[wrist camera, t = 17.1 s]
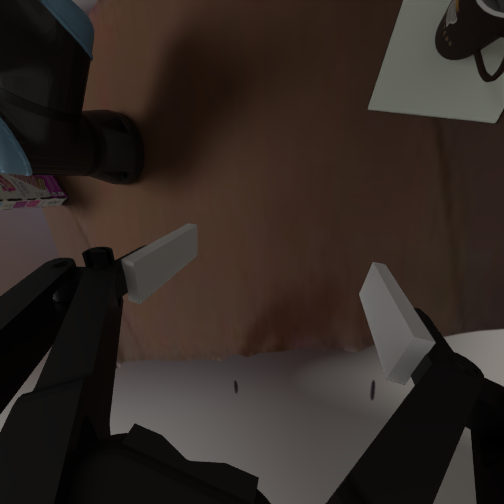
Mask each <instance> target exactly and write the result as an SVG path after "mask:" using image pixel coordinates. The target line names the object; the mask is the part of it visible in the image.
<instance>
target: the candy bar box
mask: <svg viewBox="0 0 504 504" xmlns="http://www.w3.org/2000/svg"><path fill="white" fill-rule="evenodd" d="M67 198H68V197H67V195H66V194H65V192H64V191H63V189H62V188H61V186H60V185H59V183H58V182H57V180H56V179H55V177H54V176H53V175H31V176H24V175H16V174H4V173H0V210H7V209H8V210H9V209H21V208H33V207H46V206H58V205H62V204H63V203H64V201H65V200H66V199H67Z"/></svg>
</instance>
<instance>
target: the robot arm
mask: <svg viewBox="0 0 504 504" xmlns="http://www.w3.org/2000/svg"><path fill="white" fill-rule="evenodd" d="M93 41H94V28H93V25H92V23H91V21H90V19H89V17H88V16H87V15H86V13H85V12H84V11H83V10H82V9H80V7H79V6H77V5H76V4H75V3H74V2H73V1H72V0H0V173H4V174H16V175H24V176H31V175H55V176H90V177H93V178H96V179H99V180H102V181H105V182H108V183H111V184H129V183H132V182H133V181H135V180H136V179H137V178H138V176H139V175H140V173H141V171H142V167H143V162H144V151H143V145H142V141H141V138H140V135H139V133H138V131H137V129H136V128H135V126H134V125H133V124H132V122H131V121H130V120H129V119H128V118H126V117H125V116H123V115H122V114H119V113H116V112H113V111H110V110H89V111H82V108H83V102H84V96H85V91H86V85H87V79H88V73H89V68H90V62H91V61H93V55H92V49H93ZM82 255H83V258H84V262H85V265H86V267H76V264H75V261H74V259H71V258H58V259H53V260H51V261H48V262H46V263H44V264H43V265H42V266H40V267H39V268H38V269H37V270H35V271H34V272H32V273H31V274H30V275H28V276H27V277H26V278H24V279H23V280H22V281H20V282H19V283H18V284H16V285H15V286H14V287H12V288H11V289H10V290H8V291H7V292H6V293H4V294H3V295H2V296H0V414H1V413H2V411H3V410H4V409H5V407H6V406H7V405H8V403H9V402H10V401H11V399H12V398H13V397H14V396H15V394H16V393H17V392H18V390H19V389H20V388H21V386H22V385H23V384H24V382H25V381H26V380H27V378H28V377H29V376H30V374H31V373H32V372H33V370H34V369H35V368H36V366H37V365H38V364H39V363H40V361H41V360H42V358H43V357H44V356H45V355H46V353H47V352H48V351H49V349H50V348H51V347H52V349H51V351H50V353H49V356H48V358H47V360H46V363H45V365H44V367H43V370H42V372H41V374H40V377H39V379H38V381H37V384H36V386H35V388H34V390H33V391H32V392H29V393H26V394H22V395H21V396H20V397H19V398H18V399H17V400H16V402H15V403H14V405H13V407H12V409H11V411H10V413H9V415H8V417H7V419H6V421H5V423H4V426H3V428H2V430H1V432H0V504H271V503H270V502H269V501H268V500H267V498H266V497H265V496H264V495H263V494H262V493H261V492H260V491H259V490H258V489H257V485H258V479H259V478H258V477H256V476H254V475H251V474H249V473H247V472H245V471H242V470H240V469H238V468H235V467H233V466H231V465H229V464H226V463H214V462H198V461H189V460H187V459H185V458H184V457H183V456H182V455H181V454H180V453H179V452H178V451H177V450H176V449H175V448H174V447H173V446H172V445H171V444H170V443H169V442H168V441H167V440H166V439H165V438H164V437H163V436H162V435H160V434H158V433H156V432H153V431H151V430H149V429H146V428H144V427H142V426H139V425H137V424H134V425H133V427H132V428H131V430H130V431H129V433H123V434H116V435H110V412H111V404H112V395H113V386H114V378H115V369H116V360H117V352H118V343H119V334H120V326H121V317H122V309H123V297H122V296H123V295H125V294H126V293H127V292H128V297H129V301H132V302H136V303H139V304H141V303H142V302H143V301H145V300H146V299H147V298H148V297H149V296H150V295H152V294H153V293H154V292H155V291H156V290H158V289H159V288H160V287H161V286H162V285H163V284H165V283H166V282H167V281H168V280H169V279H170V278H172V277H173V276H174V275H175V274H176V273H177V272H179V271H180V270H181V269H182V268H183V267H185V266H186V265H187V264H188V263H189V262H190V261H192V260H193V259H194V258H195V257H196V256H197V225H194V224H189V223H188V224H186V225H184V226H183V227H181V228H179V229H177V230H175V231H173V232H171V233H170V234H168V235H166V236H164V237H162V238H160V239H158V240H156V241H155V242H153V243H151V244H149V245H146V246H142V247H140V248H138V249H136V250H135V251H132V252H130V254H129V253H128V254H126V255H124V256H123V257H121V258H119V259H117V260H114V255H113V251H112V249H111V248H109V247H95V248H91V249H88V250H86V251H84V252H83V253H82ZM359 295H360V299H361V302H362V305H363V308H364V311H365V314H366V317H367V321H368V324H369V327H370V330H371V333H372V336H373V339H374V342H375V346H376V349H377V352H378V355H379V358H380V361H381V364H382V368H383V370H384V374H385V377H386V379H387V380H390V381H393V382H397V383H400V384H403V385H405V384H406V382H407V381H408V380H409V378H410V377H412V380H413V382H414V384H415V386H414V388H413V389H412V390H411V392H410V393H409V394H408V395H407V397H406V398H405V399H404V401H403V402H402V404H401V405H400V406H399V407H398V409H397V410H396V411H395V413H394V414H393V415H392V417H391V418H390V419H389V421H388V422H387V423H386V425H385V426H384V427H383V429H382V430H381V431H380V433H379V434H378V435H377V437H376V438H375V439H374V441H373V442H372V443H371V444H370V446H369V447H368V448H367V450H366V451H365V453H364V454H363V455H362V456H361V458H360V459H359V460H358V462H357V463H356V464H355V466H354V467H353V468H352V470H351V471H350V472H349V474H348V475H347V476H346V478H345V479H344V480H343V482H342V483H341V484H340V485H339V487H338V488H337V489H336V491H335V492H334V493H333V495H332V496H331V497H330V499H329V500H328V502H327V503H326V504H433V502H434V500H435V497H436V495H437V492H438V490H439V487H440V485H441V483H442V480H443V478H444V476H445V473H446V471H447V468H448V466H449V463H450V461H451V459H452V456H453V454H454V451H455V449H456V446H457V444H458V442H459V440H460V437H461V435H462V432H463V430H464V428H465V427H467V428H469V429H470V430H471V440H472V451H473V464H474V477H475V489H476V501H477V504H504V387H503V386H501V385H499V384H497V383H495V382H493V381H490V380H488V379H486V378H484V375H483V373H482V372H481V370H480V369H479V368H478V367H477V366H476V365H475V364H474V363H473V362H471V361H470V360H468V359H467V358H466V357H463V356H461V355H460V354H458V353H455V352H453V350H452V349H451V348H450V346H449V345H448V343H447V342H446V340H445V339H444V338H443V336H442V335H441V333H440V332H438V329H437V328H436V326H434V323H433V322H432V321H431V319H430V318H429V316H427V315H426V314H425V313H424V312H423V311H421V310H420V309H418V308H414V307H412V305H411V304H410V302H409V300H408V299H407V297H406V296H405V294H404V293H403V291H402V290H401V288H400V287H399V285H398V283H397V282H396V280H395V279H394V277H393V276H392V274H391V273H390V271H389V269H388V268H387V266H386V265H385V264H381V263H376V262H373V263H372V265H371V268H370V270H369V272H368V275H367V277H366V279H365V282H364V284H363V286H362V289H361V291H360V293H359ZM53 297H54V299H53ZM52 345H53V346H52Z"/></svg>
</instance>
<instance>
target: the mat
mask: <svg viewBox="0 0 504 504" xmlns="http://www.w3.org/2000/svg"><path fill="white" fill-rule="evenodd" d="M451 1H452V0H403V3H402V6H401V9H400V12H399V15H398V18H397V21H396V24H395V27H394V30H393V33H392V36H391V39H390V42H389V45H388V48H387V52H386V55H385V58H384V61H383V64H382V67H381V70H380V73H379V76H378V79H377V82H376V85H375V88H374V91H373V94H372V97H371V100H370V103H369V106H368V109H367V110H374V111H383V112H393V113H402V114H411V115H420V116H430V117H439V118H448V119H458V120H467V121H476V122H486V123H496V122H497V120H498V118H499V116H500V114H501V112H502V111H503V109H504V72H503V74H502V75H501V76H500V77H499V78H497V79H496V80H495V81H492V82H484V81H483V80H482V78H481V77H480V75H479V73H478V70H477V66H476V62H475V58H474V55H472V56H470V57H467V58H465V59H461V60H448V59H445V58H444V57H442V56H441V55H440V54H439V53H438V51H437V49H436V46H435V35H436V31H437V28H438V25H439V23H440V21H441V20H442V18H443V16H444V14H445V12H446V10H447V8H448V6H449V4H450V2H451ZM481 54H482V58H483V61H484V65H485V68H486V71H487V72H488V73H489V74H490V75H491V76H492V75H493V74H494V73H495V72H496V71H497V70H498V68H499V66H500V64H501V62H502V60H503V57H504V38H503V37H500V38H499V39H497V40H496V41H494V42H493V43H491V44H489V45H488V46H486V47H485V48H483V49H482V50H481Z"/></svg>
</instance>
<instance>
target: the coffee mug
mask: <svg viewBox="0 0 504 504" xmlns="http://www.w3.org/2000/svg"><path fill="white" fill-rule="evenodd" d="M500 37H503V38H504V0H452V1H451V2H450V4H449V6H448V8H447V10H446V12H445V14H444V16H443V18H442V20H441V21H440V23H439V25H438V28H437V31H436V35H435V46H436V49H437V51H438V53H439V54H440V55H441V56H442V57H444V58H445V59H448V60H461V59H465V58H467V57H470V56H472V55H474V58H475V62H476V66H477V70H478V73H479V75H480V77H481V78H482V80H483V81H484V82H492V81H495V80H496V79H497V78H499V77H500V76H501V75H502V74H503V72H504V57H503V60H502V62H501V64H500V66H499V68H498V70H497V71H496V72H495V73H494V74H493V75H492V76H491V75H490V74H489V73H488V72H487V71H486V68H485V65H484V61H483V58H482V54H481V50H482V49H483V48H485V47H486V46H488V45H489V44H491V43H493V42H494V41H496V40H497V39H499V38H500Z"/></svg>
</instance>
